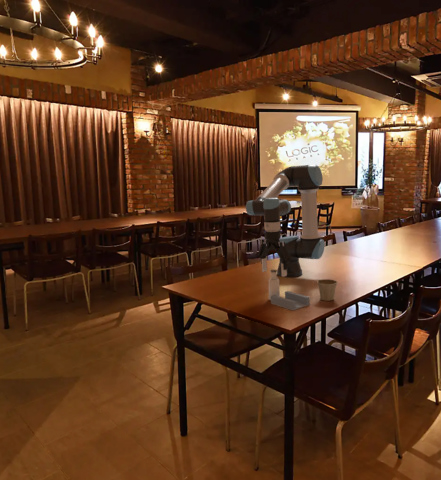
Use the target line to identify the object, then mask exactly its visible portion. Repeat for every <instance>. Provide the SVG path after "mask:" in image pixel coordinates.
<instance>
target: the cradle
mask: <svg viewBox="0 0 441 480" xmlns="http://www.w3.org/2000/svg"><path fill="white" fill-rule="evenodd" d="M310 299H311V297H310V296H307V295H304V294H300V293H297V292H292V291H288V290H285V291H284V297H283V296H280V297H279V296H276V295H272V296H271V300H270V304H271V305H274V306H278V307H281V308H284V309H287V310H291V311H296V310H299V309H301V308H304V307H308V306H310V305H311V304H310V303H311V302H310V301H311V300H310Z"/></svg>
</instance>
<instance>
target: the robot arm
mask: <svg viewBox="0 0 441 480" xmlns="http://www.w3.org/2000/svg"><path fill="white" fill-rule="evenodd" d="M272 180H273V181H272V182H271V183H270V184H269V185H268V186H267V187H266V188H265V189H264V190H263V191H262V192H261V193H260V194H259V196H257V198H256V199H255V200H254V199H252V200H248V201H246V204H245V211H246V213H247V215H249V216H263V219H264V220H263V222H264V224H263V225H264V238H263V239H261V240H260V241H261V242H260V243H261V245H260V246H259V249H258V253H257V257H259V258H260V264H261V272H262V273H264V272H268V261H267V260H268V259H267V255H268V254H269V253H270V251H274V252H275V253H277V256H278V257H279V258H278V259H279V262H278V266H277V269H276V270H277V272H276V276H279V277H282V278H294V277H295V278H296V277H300V276H302V275H303V270H302V268H301V267H302V266H301V263H300V259H303V260H304V259H308V260H320V259H321V258H322V257H323V255H324V252H325V248H326V246H325V240H324V239H322V237H321V235H320V234H319V230H318V229H319V228H318V225H319V224H318V204H317V202H318V201H317V200H318V199H317V192H318V191H319V189H320V187H321V186H322V184H323V173H322V170H321V168H320V166H318V165H317V164H307V165H306V164H305V165H291V166H288V167H286V168H284V169H282V170H281V171H280V172H278V173H277V174H276V175H275V176H274V178H273V179H272ZM292 187H293V188H294V187H297V191H298V192H300V201H301V223H302V224H301V225H302V227H301V228H302V229H301V230H302V234H301V235H300V237H299V236H298V235H289V236H284V237H282V236H281V235H282V234H281V216H285V215H287V214H289V213H290V212H291V209H292V205H291V203H290V201H289V200H287V199H279V198H278V197H279V195H281V193H282V192H283V191H285V190H287V189H288V188H292Z"/></svg>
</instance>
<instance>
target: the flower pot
mask: <svg viewBox="0 0 441 480" xmlns="http://www.w3.org/2000/svg"><path fill="white" fill-rule="evenodd" d="M316 283H317V285H318V290H319V297H320V298H319V299H320V300H322V301H324V302H330V301H334V300H335V299H334V298H335V293H336V286H337V284H338V281H337V280H335V279H328V278H325V279H324V278H322V279H319V280H316Z"/></svg>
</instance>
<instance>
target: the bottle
mask: <svg viewBox="0 0 441 480" xmlns="http://www.w3.org/2000/svg"><path fill="white" fill-rule="evenodd" d="M269 272H270V278H268V300H269V301H271V296H272V295H276V296H279V297H281V296H280V291H281V289H280V279H279V278H277V269H270V270H269Z"/></svg>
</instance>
